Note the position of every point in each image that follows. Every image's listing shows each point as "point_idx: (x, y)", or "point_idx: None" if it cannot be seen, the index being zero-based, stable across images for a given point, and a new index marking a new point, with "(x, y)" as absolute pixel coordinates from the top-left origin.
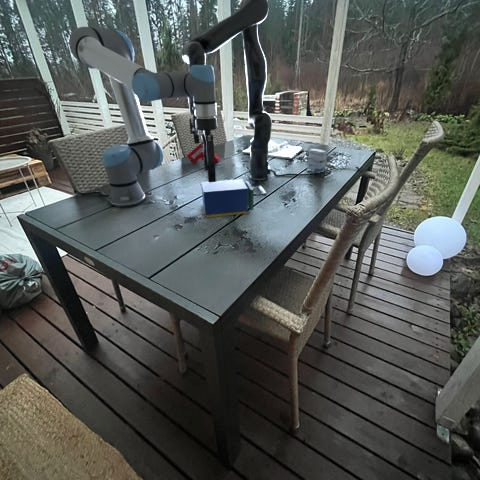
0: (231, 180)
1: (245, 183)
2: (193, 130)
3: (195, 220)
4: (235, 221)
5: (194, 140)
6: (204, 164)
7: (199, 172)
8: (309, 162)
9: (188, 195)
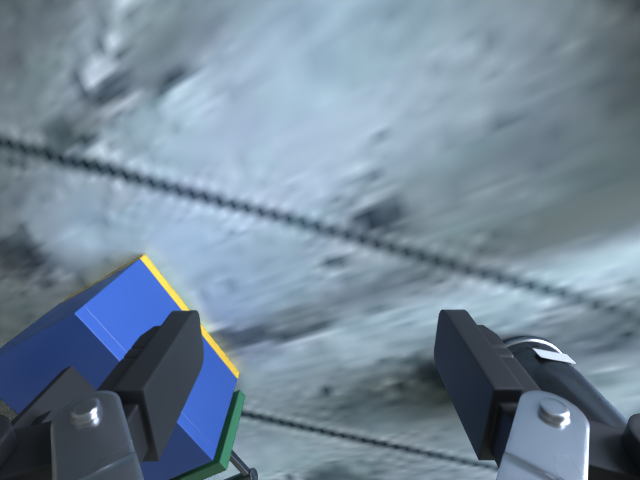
0: (173, 430)
1: (219, 454)
2: (56, 471)
3: (26, 274)
4: None
5: (136, 345)
6: (34, 400)
7: (595, 26)
8: None
9: (221, 137)
